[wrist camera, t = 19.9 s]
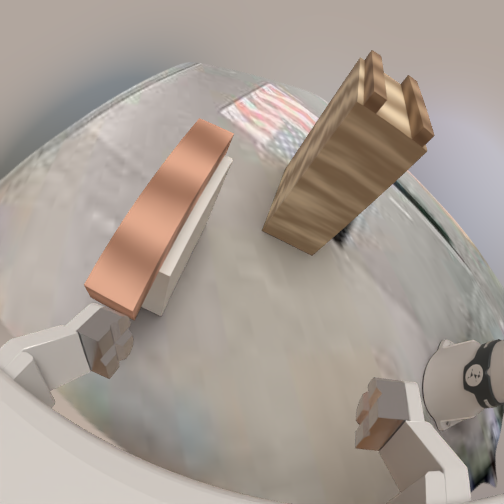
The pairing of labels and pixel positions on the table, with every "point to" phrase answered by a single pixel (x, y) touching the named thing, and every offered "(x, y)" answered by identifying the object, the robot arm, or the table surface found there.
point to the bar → (156, 220)
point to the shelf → (185, 243)
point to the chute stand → (350, 156)
